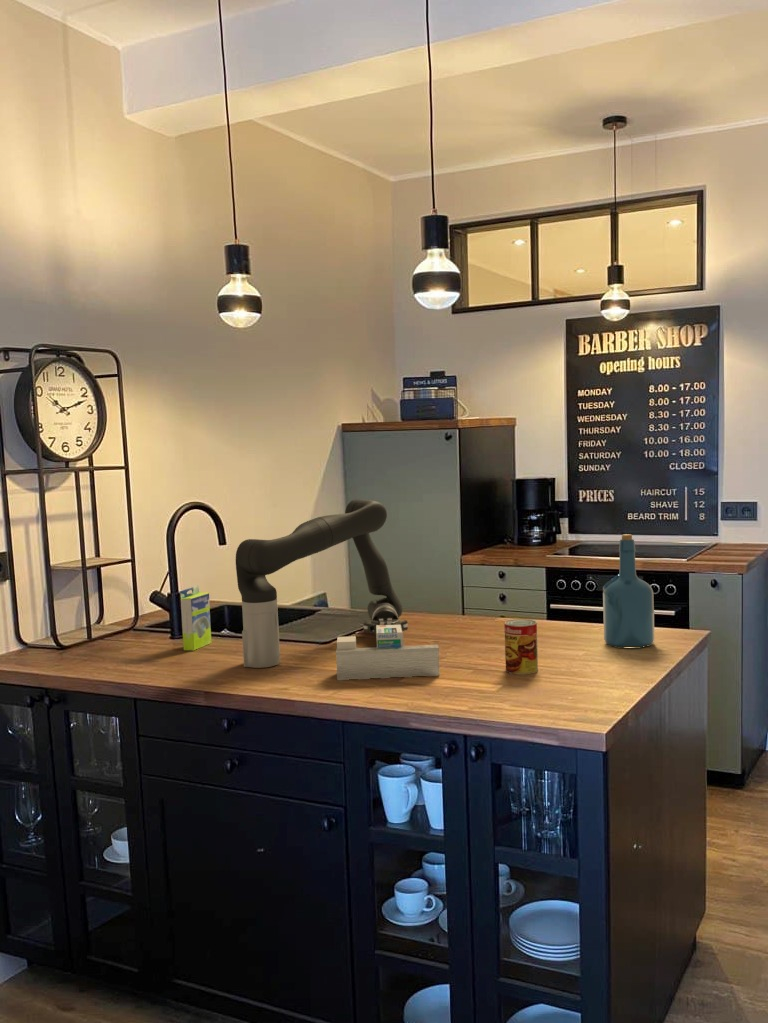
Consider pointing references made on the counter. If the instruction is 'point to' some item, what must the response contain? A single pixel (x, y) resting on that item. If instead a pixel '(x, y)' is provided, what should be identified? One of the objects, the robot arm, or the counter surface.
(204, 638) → the box
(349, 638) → the block
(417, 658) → the rail
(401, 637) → the light bulb box
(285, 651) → the counter surface
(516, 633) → the canned food
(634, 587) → the wine bottle
